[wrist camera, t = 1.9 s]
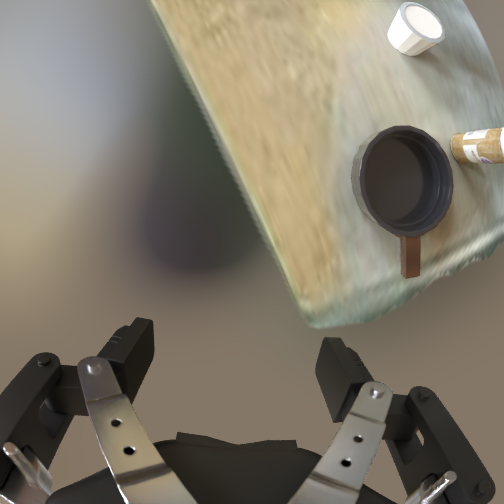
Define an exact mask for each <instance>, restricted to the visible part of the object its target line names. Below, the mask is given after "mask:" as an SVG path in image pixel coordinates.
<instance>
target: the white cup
mask: <svg viewBox="0 0 504 504" xmlns="http://www.w3.org/2000/svg"><path fill="white" fill-rule="evenodd" d="M445 35H446V34H445V29H444V26H443V25H442V23H441V21H440V19H439V18H438V17H437V16H436V15H435V14H434V13H433V12H432V11H430V10H429V9H428V8H426V7H425V6H423V5H420V4H418V3H415V2H406V3H403V4H402V5H401V7H400V9H399V11H398V13H397V15H396V17H395V19H394V21H393V23H392V25H391V27H390V29H389V31H388V38H389V40H390V42H391V44H392V45H393V46H394V47H395V48H396V49H397V50H398V51H400V52H401V53H403V54H405V55H408V56H416V55H418V54H420V53H421V52H423V51H425V50H427V49H429V48H430V47H432V46H434V45H436V44H438V43H439V42H441V41H443V40H444V38H445Z"/></svg>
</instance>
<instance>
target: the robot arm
mask: <svg viewBox="0 0 504 504" xmlns="http://www.w3.org/2000/svg"><path fill="white" fill-rule="evenodd" d="M153 357H154V331H153V321H152V320H150V319H144V318H138V317H137V318H136V319H135V320H134V321H133V323H132V324H131V325H130V326H126V325H125V326H123V327H121V328H120V329H118V330H117V331H116V332H115V333H114V334H113V337H111V338H110V340H109V342H107V343H106V345H105V346H104V347H103V349H102V350H101V351H100V352H99V354H98V355H97V356H93V357H87V358H84V359H83V360H81V361H80V362H79V363H78V365H77V366H69V365H61V364H60V360H59V358H58V357H57V356H56V355H55V354H52V353H48V352H45V353H39V354H37V355H35V356H34V357H33V358H32V359H31V360H30V361H29V362H28V363H27V364H26V365H25V366H24V368H23V369H22V370H21V371H20V372H19V373H18V374H17V376H16V377H15V378H14V379H13V380H12V381H11V382H10V384H9V385H8V386H7V387H6V389H5V390H4V391H3V392H2V393H1V395H0V503H1V504H397V503H395V502H393V501H391V500H389V499H388V498H386V497H384V496H383V495H381V494H379V493H378V492H376V491H374V490H373V489H371V488H369V487H368V486H366V485H364V484H363V482H364V480H365V478H366V476H367V474H368V471H369V469H370V467H371V465H372V462H373V460H374V457H375V455H376V452H377V450H378V447H379V445H380V442H381V439H383V440H385V441H386V443H387V445H388V448H389V450H390V453H391V455H392V457H393V460H394V463H395V465H396V467H397V470H398V472H399V475H400V477H401V480H402V482H403V485H404V488H405V490H406V492H407V495H408V496H407V498H406V500H405V504H487V503H488V502H490V501H491V500H492V498H493V496H494V494H495V484H494V482H493V480H492V478H491V477H490V475H489V473H488V472H487V470H486V468H485V467H484V465H483V463H482V462H481V460H480V459H479V457H478V455H477V454H476V452H475V451H474V449H473V448H472V446H471V445H470V443H469V441H468V440H467V439H466V437H465V436H464V434H463V433H462V431H461V430H460V428H459V427H458V425H457V424H456V422H455V421H454V419H453V418H452V417H451V415H450V414H449V412H448V411H447V410H446V408H445V407H444V405H443V404H442V402H441V401H440V400H439V398H438V397H437V396H436V394H435V393H434V392H433V391H432V390H430V389H428V388H426V387H422V386H416V387H414V388H412V389H411V390H410V392H409V394H408V395H398V394H393V392H392V390H391V389H390V387H389V386H387V385H386V384H384V383H381V382H377V381H374V379H373V378H372V376H371V375H370V373H369V372H368V370H367V369H366V367H365V366H364V363H363V362H362V361H361V359H360V357H359V356H358V354H357V353H356V352H355V351H353V350H352V349H351V348H349V347H346V346H345V344H344V343H343V341H342V339H341V338H335V337H333V338H332V337H325V338H324V339H323V342H322V345H321V349H320V353H319V356H318V359H317V363H316V377H317V379H318V382H319V385H320V387H321V390H322V393H323V395H324V398H325V401H326V404H327V407H328V409H329V412H330V414H331V417H332V420H333V423H337V422H343V423H342V425H341V427H340V428H339V430H338V432H337V433H336V435H335V437H334V438H333V440H332V442H331V443H330V445H329V446H328V448H327V450H326V451H325V453H324V454H323V456H321V455H319V454H317V453H314V452H312V451H309V450H306V449H302V448H297V443H296V440H266V441H261V442H254V443H248V444H240V445H236V444H232V443H228V442H225V441H221V440H218V439H214V438H211V437H208V436H201V435H194V434H187V433H181V432H177V437H176V440H164V441H160V442H156V443H152V441H151V439H150V438H149V437H148V434H147V433H146V431H145V429H144V427H143V425H142V424H141V422H140V420H139V418H138V416H137V415H136V413H135V411H134V409H133V407H132V403H133V401H134V399H135V397H136V395H137V392H138V390H139V388H140V385H141V384H142V381H143V379H144V377H145V375H146V373H147V371H148V369H149V367H150V364H151V362H152V360H153ZM44 401H45V402H44ZM43 402H44V403H43ZM42 404H43V405H42ZM41 405H42V406H41ZM40 407H41V408H40ZM74 415H81V416H90V419H91V422H92V425H93V428H94V431H95V434H96V437H97V439H98V442H99V445H100V447H101V450H102V452H103V454H104V457H105V459H106V462H107V464H108V466H109V467H107V468H105V469H103V470H101V471H99V472H97V473H95V474H93V475H91V476H89V477H86V478H84V479H82V480H80V481H78V482H75V483H73V484H71V485H69V486H66V487H64V488H61V489H59V490H57V491H55V492H54V493H53V494H52V485H53V481H52V477H51V475H50V473H49V472H48V469H49V466H50V464H51V462H52V460H53V458H54V456H55V454H56V451H57V449H58V447H59V445H60V443H61V441H62V439H63V437H64V435H65V433H66V431H67V429H68V427H69V425H70V423H71V421H72V419H73V417H74ZM418 430H420V432H421V434H422V435H423V438H424V445H423V446H422V444H421V442H420V440H419V438H418V436H417V435H416V432H417V431H418Z"/></svg>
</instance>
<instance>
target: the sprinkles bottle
mask: <svg viewBox="0 0 504 504" xmlns="http://www.w3.org/2000/svg"><path fill="white" fill-rule="evenodd" d="M450 146H451V151H452V154H453V156H454V157H455V159H456V160H457V161H459V162H460V163H469V162H470V163H504V127H503V128H498V129H486V130H478V131H472V132H467V133H463V134H461V133H457V134H455V135H454V136H453V137H452V139H451V143H450Z"/></svg>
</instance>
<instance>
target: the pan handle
mask: <svg viewBox="0 0 504 504" xmlns="http://www.w3.org/2000/svg"><path fill="white" fill-rule="evenodd" d="M396 236H397V237H399V238H400V240H401V274H402V275H403V276H404V277H405V278H406V279H407V278H412V277H417V276H420V235H418V236H412V237H405V236H400V235H396Z"/></svg>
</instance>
